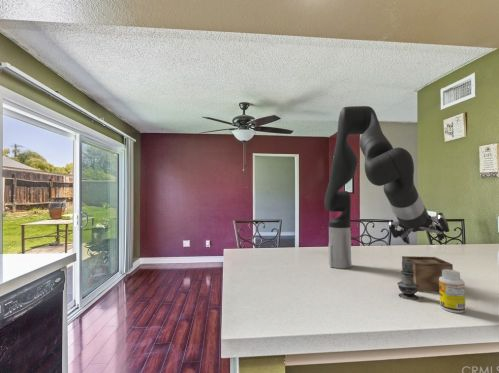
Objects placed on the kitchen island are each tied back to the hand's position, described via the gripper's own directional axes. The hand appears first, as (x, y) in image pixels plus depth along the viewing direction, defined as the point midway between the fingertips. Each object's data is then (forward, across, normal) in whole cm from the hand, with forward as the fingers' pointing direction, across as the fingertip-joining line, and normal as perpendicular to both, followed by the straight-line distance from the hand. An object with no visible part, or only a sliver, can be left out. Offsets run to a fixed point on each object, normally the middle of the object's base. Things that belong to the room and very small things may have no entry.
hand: (423, 239), depth 83 cm
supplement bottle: (+8, -3, +18) cm, 20 cm away
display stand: (+21, +5, +5) cm, 22 cm away
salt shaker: (+10, +8, +13) cm, 18 cm away
